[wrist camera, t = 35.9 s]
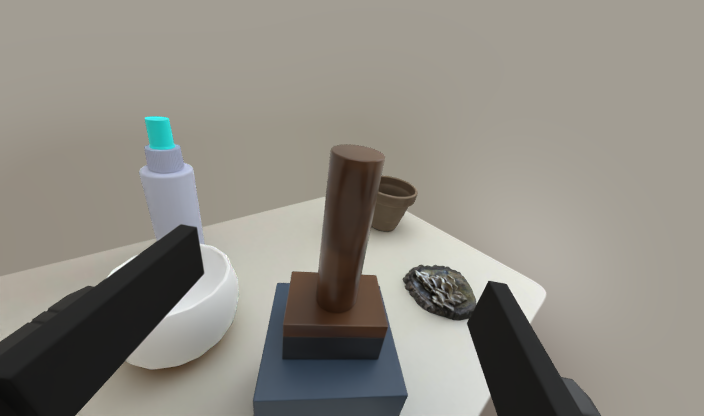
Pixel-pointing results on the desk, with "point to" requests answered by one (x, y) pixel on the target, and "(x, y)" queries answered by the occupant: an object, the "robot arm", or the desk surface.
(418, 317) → the desk surface
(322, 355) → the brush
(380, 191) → the flower pot
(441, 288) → the grey rough lump
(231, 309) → the cup
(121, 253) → the desk surface
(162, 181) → the spray bottle
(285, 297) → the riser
